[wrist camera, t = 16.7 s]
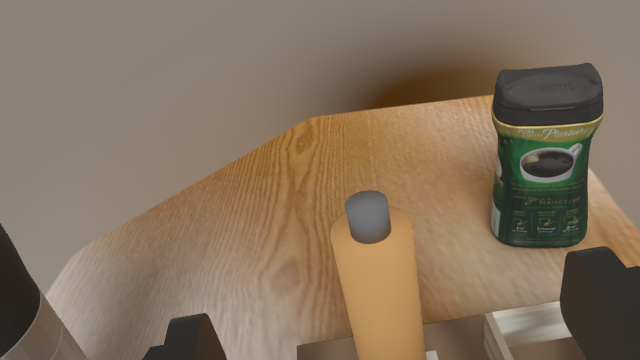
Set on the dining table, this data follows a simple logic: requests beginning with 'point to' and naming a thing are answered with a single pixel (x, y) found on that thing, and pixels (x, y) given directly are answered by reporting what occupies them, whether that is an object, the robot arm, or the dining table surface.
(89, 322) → the dining table surface
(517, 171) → the coffee jar
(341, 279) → the tall tan cylinder
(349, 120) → the dining table surface
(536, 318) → the board
